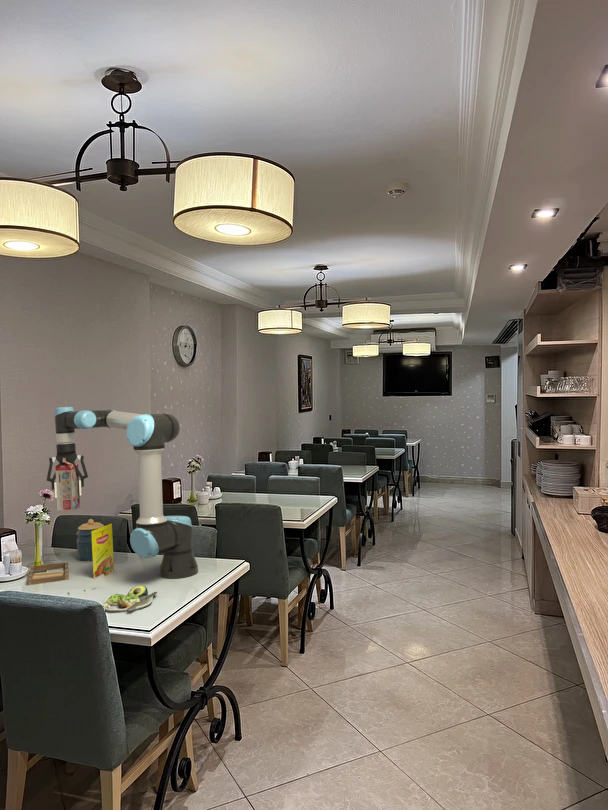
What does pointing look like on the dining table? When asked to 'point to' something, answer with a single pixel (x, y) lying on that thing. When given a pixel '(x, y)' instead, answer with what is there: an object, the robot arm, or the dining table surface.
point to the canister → (86, 540)
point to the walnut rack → (45, 568)
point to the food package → (102, 551)
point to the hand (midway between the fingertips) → (68, 496)
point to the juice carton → (67, 486)
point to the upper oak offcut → (47, 575)
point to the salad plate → (130, 599)
